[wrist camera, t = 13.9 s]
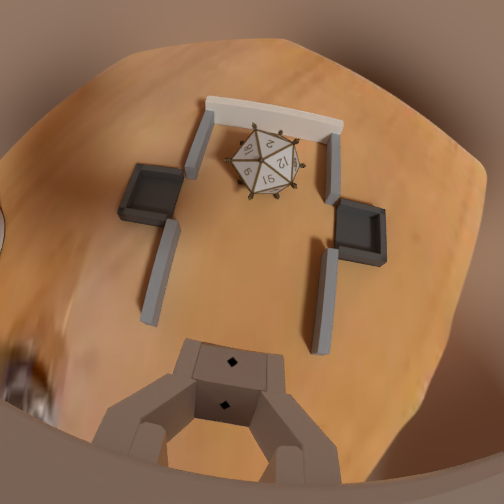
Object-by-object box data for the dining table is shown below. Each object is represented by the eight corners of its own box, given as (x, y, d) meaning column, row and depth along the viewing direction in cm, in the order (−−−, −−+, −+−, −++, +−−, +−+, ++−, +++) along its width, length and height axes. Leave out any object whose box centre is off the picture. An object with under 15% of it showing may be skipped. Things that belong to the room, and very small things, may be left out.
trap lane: (93, 310, 30) (78, 302, 26) (167, 111, 41) (164, 92, 37) (374, 360, 30) (392, 358, 27) (374, 150, 41) (384, 133, 37)
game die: (246, 191, 41) (220, 123, 35) (308, 175, 39) (288, 103, 33) (242, 229, 34) (208, 147, 28) (318, 210, 32) (296, 122, 26)
